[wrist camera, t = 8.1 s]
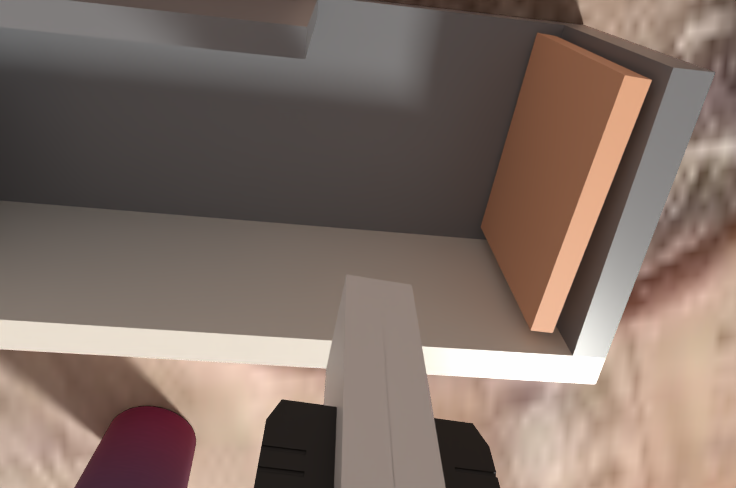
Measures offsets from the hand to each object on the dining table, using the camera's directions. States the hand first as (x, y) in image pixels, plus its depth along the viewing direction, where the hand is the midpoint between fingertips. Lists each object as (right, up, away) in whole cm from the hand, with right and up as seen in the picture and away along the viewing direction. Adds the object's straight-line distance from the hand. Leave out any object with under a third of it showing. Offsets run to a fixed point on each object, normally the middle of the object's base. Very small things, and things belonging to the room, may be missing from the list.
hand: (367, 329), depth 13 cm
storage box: (-4, +7, +12) cm, 15 cm away
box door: (+6, +7, +11) cm, 15 cm away
